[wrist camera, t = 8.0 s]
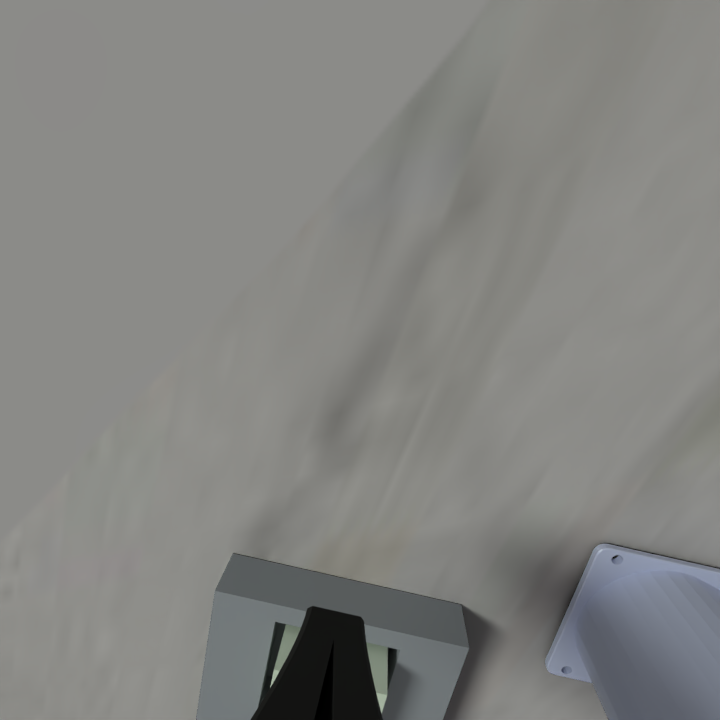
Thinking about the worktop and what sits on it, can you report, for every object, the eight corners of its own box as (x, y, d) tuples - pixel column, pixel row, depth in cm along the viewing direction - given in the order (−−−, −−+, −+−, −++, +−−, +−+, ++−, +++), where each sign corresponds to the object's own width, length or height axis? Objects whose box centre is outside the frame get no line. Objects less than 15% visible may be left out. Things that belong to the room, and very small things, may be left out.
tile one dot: (387, 626, 23) (387, 699, 19) (366, 697, 24) (362, 778, 21) (291, 604, 23) (272, 674, 19) (275, 677, 24) (256, 754, 21)
